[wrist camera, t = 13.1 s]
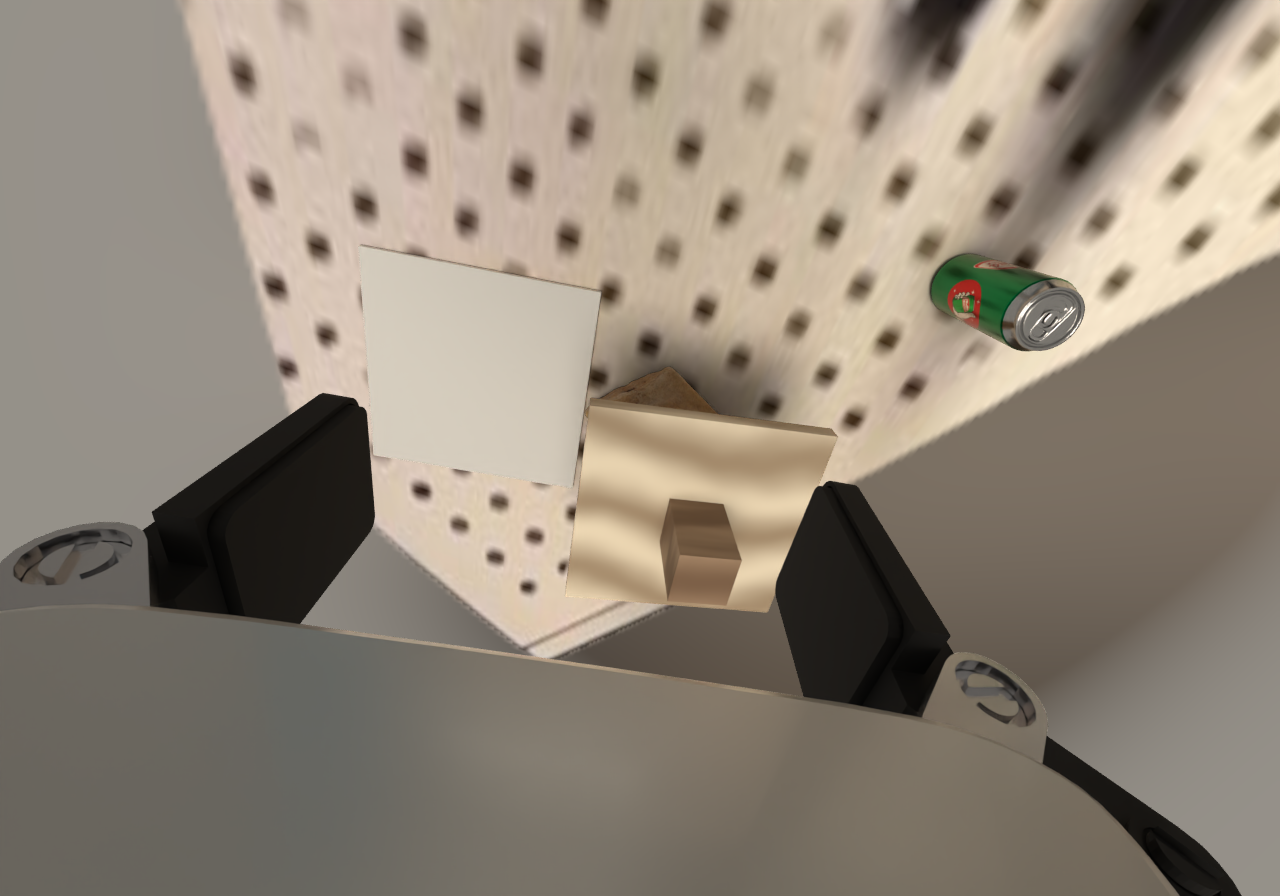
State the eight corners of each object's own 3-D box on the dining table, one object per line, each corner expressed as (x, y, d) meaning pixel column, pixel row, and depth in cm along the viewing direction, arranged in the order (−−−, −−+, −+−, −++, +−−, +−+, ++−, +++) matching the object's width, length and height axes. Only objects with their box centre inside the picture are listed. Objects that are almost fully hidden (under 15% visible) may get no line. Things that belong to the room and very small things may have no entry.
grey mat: (361, 244, 45) (358, 245, 44) (601, 291, 46) (600, 292, 46) (376, 452, 55) (373, 455, 54) (573, 485, 56) (572, 488, 56)
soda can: (1002, 267, 45) (1109, 300, 34) (962, 321, 47) (1050, 367, 36) (954, 242, 44) (1049, 268, 33) (915, 298, 46) (993, 338, 36)
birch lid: (590, 397, 34) (586, 453, 28) (831, 428, 37) (877, 486, 30) (565, 585, 43) (559, 660, 36) (763, 601, 45) (789, 674, 39)
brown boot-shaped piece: (769, 441, 53) (806, 533, 40) (677, 501, 57) (684, 603, 44) (678, 329, 48) (687, 392, 35) (583, 404, 52) (559, 486, 39)
